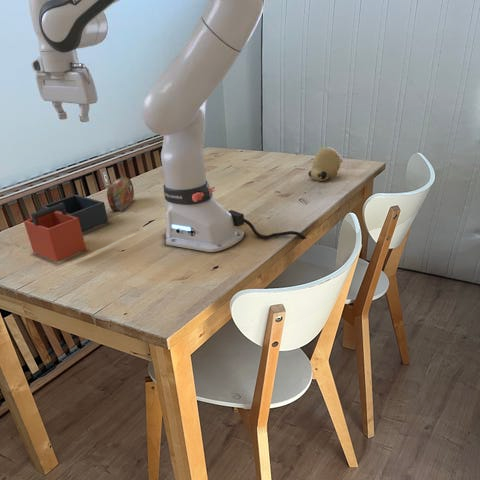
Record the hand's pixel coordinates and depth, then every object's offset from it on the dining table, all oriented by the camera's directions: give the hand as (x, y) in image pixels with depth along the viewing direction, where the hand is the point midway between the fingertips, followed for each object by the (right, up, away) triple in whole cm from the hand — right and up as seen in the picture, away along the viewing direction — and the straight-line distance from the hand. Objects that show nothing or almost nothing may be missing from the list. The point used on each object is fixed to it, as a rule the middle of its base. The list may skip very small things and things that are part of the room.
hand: (74, 120), depth 131 cm
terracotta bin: (-3, -36, -1) cm, 36 cm away
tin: (+7, -17, +28) cm, 33 cm away
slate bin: (-4, -26, +15) cm, 30 cm away
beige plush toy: (+75, -4, +41) cm, 85 cm away
